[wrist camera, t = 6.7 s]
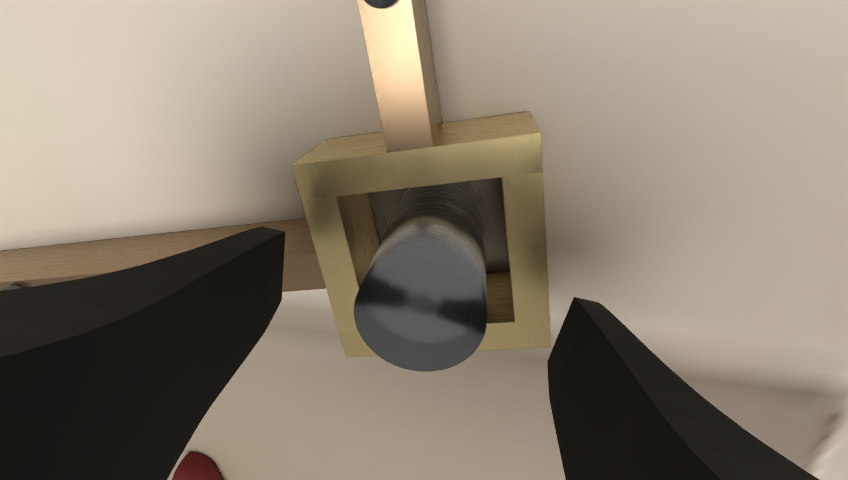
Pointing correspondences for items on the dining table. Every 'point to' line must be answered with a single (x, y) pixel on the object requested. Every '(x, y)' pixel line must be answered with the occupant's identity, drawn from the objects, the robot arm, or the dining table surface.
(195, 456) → the pliers
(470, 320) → the hinge pin
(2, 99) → the dining table surface
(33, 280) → the hinge
